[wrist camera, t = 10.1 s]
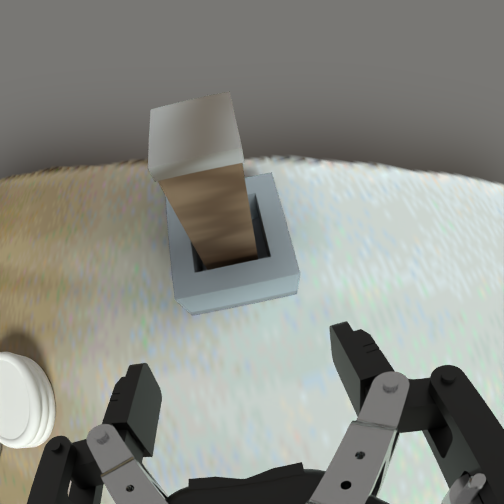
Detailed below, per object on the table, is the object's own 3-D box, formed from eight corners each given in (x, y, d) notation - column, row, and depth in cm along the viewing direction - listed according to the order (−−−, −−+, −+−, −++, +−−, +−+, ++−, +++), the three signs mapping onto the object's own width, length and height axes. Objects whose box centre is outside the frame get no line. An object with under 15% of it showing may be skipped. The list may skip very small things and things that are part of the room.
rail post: (212, 280, 27) (147, 168, 13) (206, 236, 29) (150, 109, 15) (261, 271, 27) (241, 147, 13) (252, 227, 29) (229, 91, 15)
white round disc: (52, 352, 27) (30, 345, 23) (66, 449, 22) (44, 452, 19) (-6, 359, 26) (-27, 353, 23) (3, 443, 22) (-18, 443, 19)
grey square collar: (192, 315, 27) (174, 299, 22) (181, 224, 31) (165, 196, 26) (296, 293, 27) (300, 273, 22) (273, 204, 31) (271, 172, 26)
